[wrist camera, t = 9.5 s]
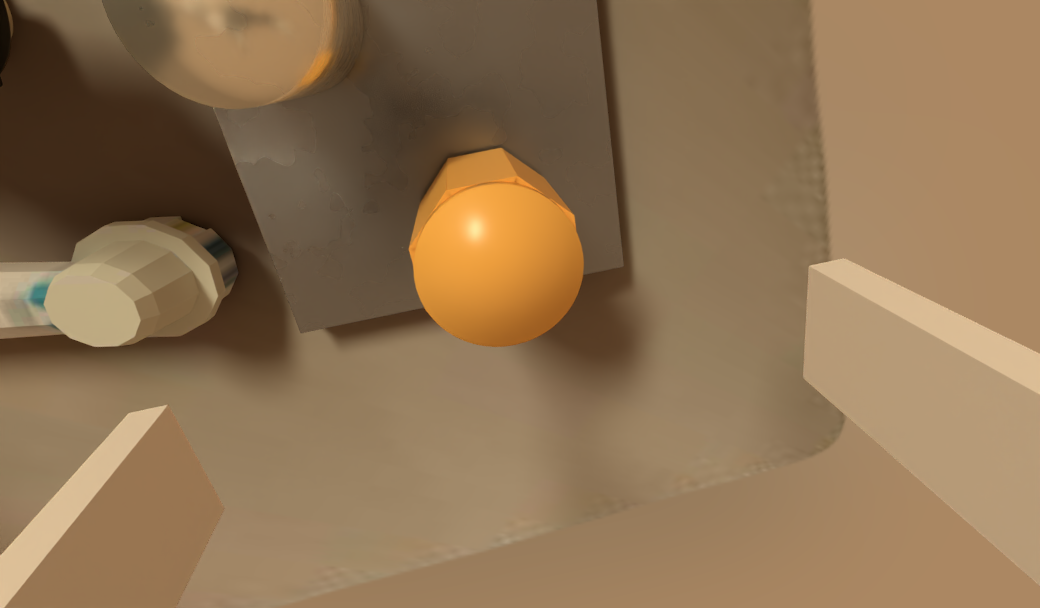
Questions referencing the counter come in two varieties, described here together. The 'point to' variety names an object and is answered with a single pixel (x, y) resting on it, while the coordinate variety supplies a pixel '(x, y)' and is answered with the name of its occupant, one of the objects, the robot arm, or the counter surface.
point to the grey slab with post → (383, 122)
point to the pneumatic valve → (5, 34)
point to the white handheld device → (121, 285)
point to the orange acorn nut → (495, 251)
